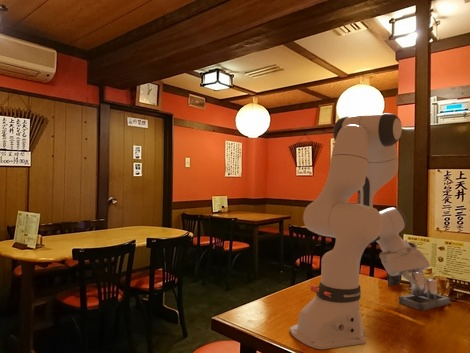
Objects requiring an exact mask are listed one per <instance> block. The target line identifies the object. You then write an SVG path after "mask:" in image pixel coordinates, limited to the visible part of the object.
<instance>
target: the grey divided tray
mask: <svg viewBox="0 0 470 353" xmlns="http://www.w3.org/2000/svg"><path fill="white" fill-rule="evenodd" d="M398 303H399V304H401V305H404V306H407V307H409V308H413V309H416V310H417V311H421V312H423V311H427V310H431V309H435V308H439V307H442V306H446V305H450V304H451V298H450V297H448V296H444V295H440V294H438V293H437V299H435V300H432V299H429V298H426V297H425V290H424V296H415V295H412V293H411V294H407V295H403V296H401V295H400V296H399V297H398Z"/></svg>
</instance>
